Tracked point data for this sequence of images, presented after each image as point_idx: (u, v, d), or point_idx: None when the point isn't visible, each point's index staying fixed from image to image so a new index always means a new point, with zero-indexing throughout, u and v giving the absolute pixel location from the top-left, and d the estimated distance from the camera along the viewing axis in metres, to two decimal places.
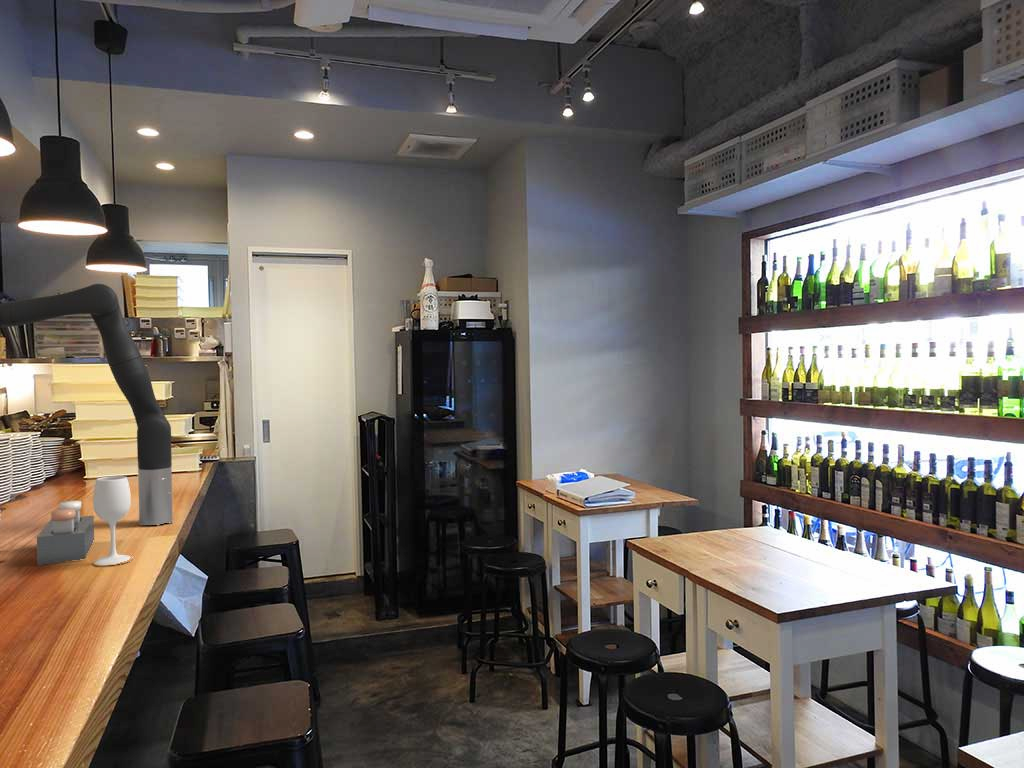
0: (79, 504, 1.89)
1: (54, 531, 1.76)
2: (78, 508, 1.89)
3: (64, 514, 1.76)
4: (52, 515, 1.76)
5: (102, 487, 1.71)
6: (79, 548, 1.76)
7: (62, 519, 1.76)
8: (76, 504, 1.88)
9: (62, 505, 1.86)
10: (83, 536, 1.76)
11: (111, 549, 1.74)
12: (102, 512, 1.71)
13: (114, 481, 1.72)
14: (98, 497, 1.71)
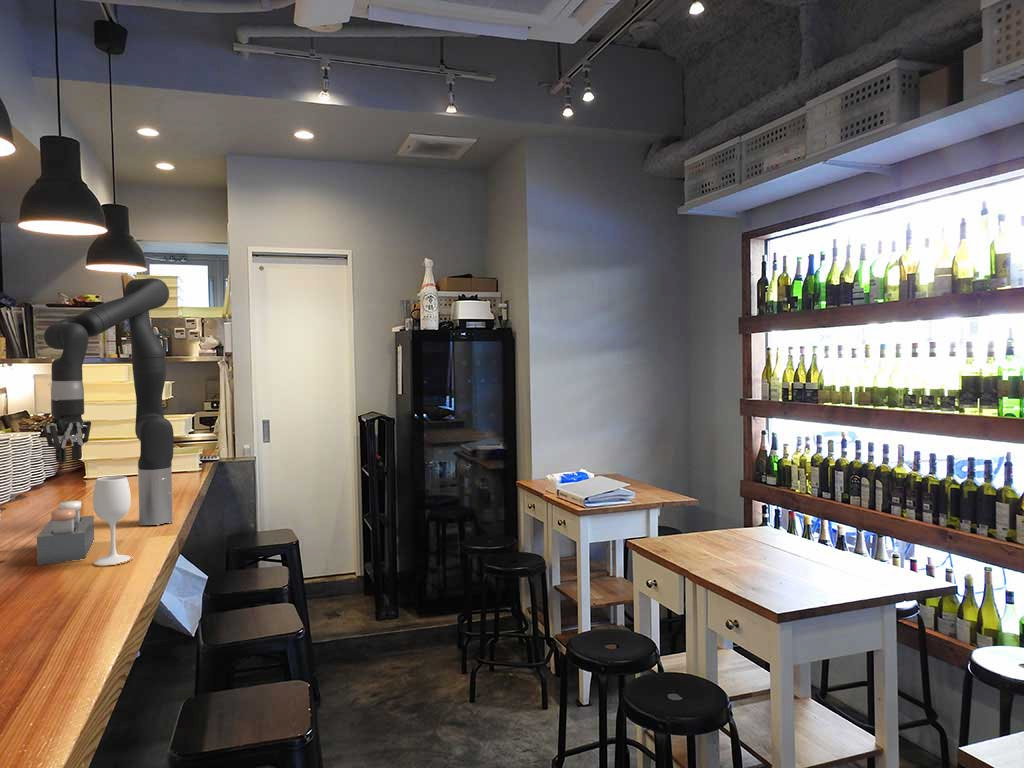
0: (79, 504, 1.89)
1: (54, 531, 1.76)
2: (78, 508, 1.89)
3: (64, 514, 1.76)
4: (52, 515, 1.76)
5: (102, 487, 1.71)
6: (79, 548, 1.76)
7: (62, 519, 1.76)
8: (76, 504, 1.88)
9: (62, 505, 1.86)
10: (83, 536, 1.76)
11: (111, 549, 1.74)
12: (102, 512, 1.71)
13: (114, 481, 1.72)
14: (98, 497, 1.71)
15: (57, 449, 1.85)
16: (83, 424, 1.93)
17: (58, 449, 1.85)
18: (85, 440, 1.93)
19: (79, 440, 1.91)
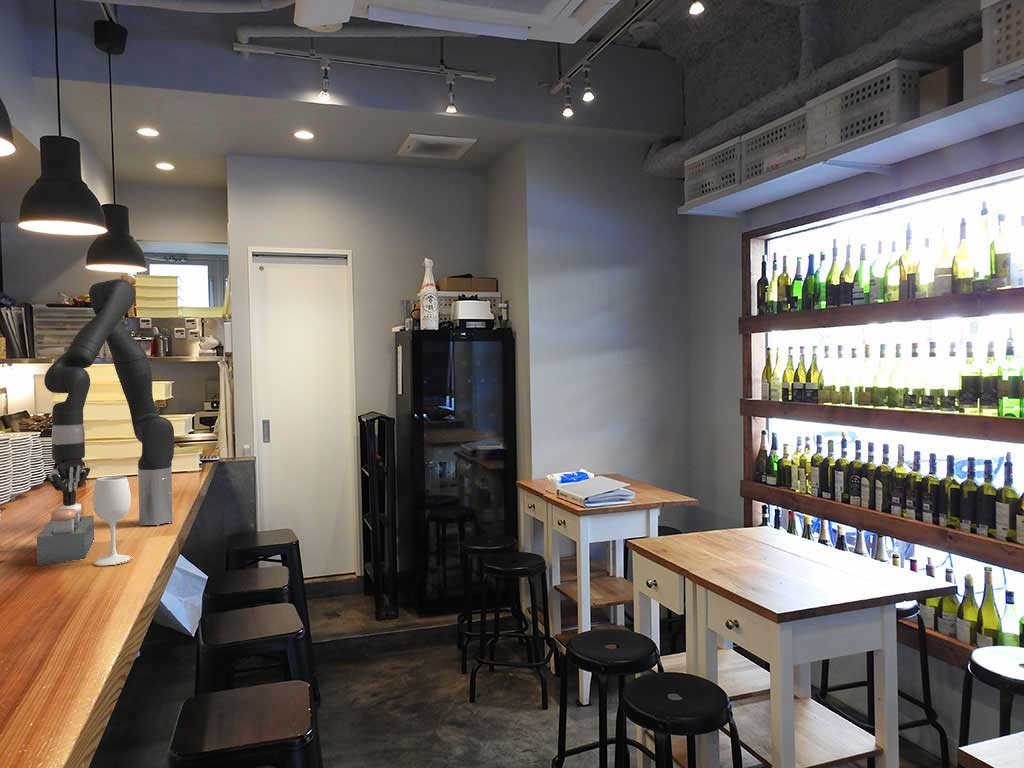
0: (79, 507, 1.89)
1: (54, 531, 1.76)
2: (78, 511, 1.89)
3: (64, 514, 1.76)
4: (52, 515, 1.76)
5: (102, 487, 1.71)
6: (79, 548, 1.76)
7: (62, 519, 1.76)
8: (76, 507, 1.88)
9: (62, 508, 1.86)
10: (83, 536, 1.76)
11: (111, 549, 1.74)
12: (102, 512, 1.71)
13: (114, 481, 1.72)
14: (98, 497, 1.71)
15: (64, 493, 1.87)
16: (82, 469, 1.93)
17: (65, 493, 1.87)
18: (79, 485, 1.91)
19: (73, 485, 1.89)
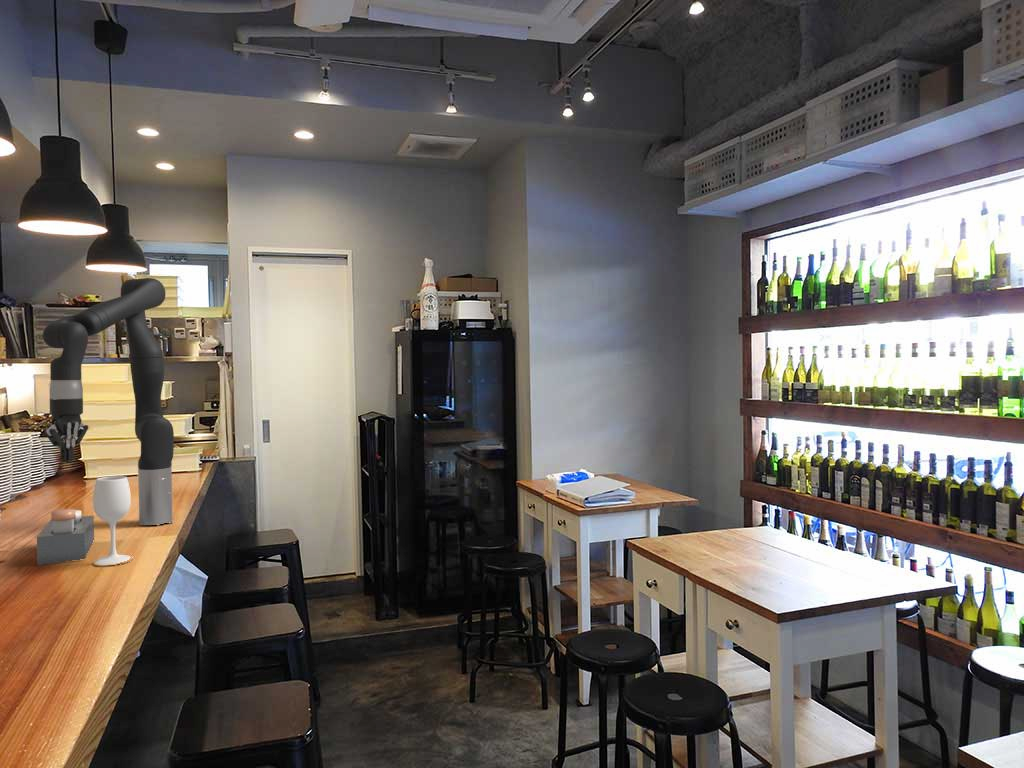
0: (79, 514, 1.89)
1: (54, 531, 1.76)
2: (78, 518, 1.89)
3: (64, 514, 1.76)
4: (52, 515, 1.76)
5: (102, 487, 1.71)
6: (79, 548, 1.76)
7: (62, 519, 1.76)
8: (76, 514, 1.88)
9: None
10: (83, 536, 1.76)
11: (111, 549, 1.74)
12: (102, 512, 1.71)
13: (114, 481, 1.72)
14: (98, 497, 1.71)
15: (62, 449, 1.86)
16: (80, 426, 1.91)
17: (63, 449, 1.86)
18: (77, 442, 1.89)
19: (71, 442, 1.87)
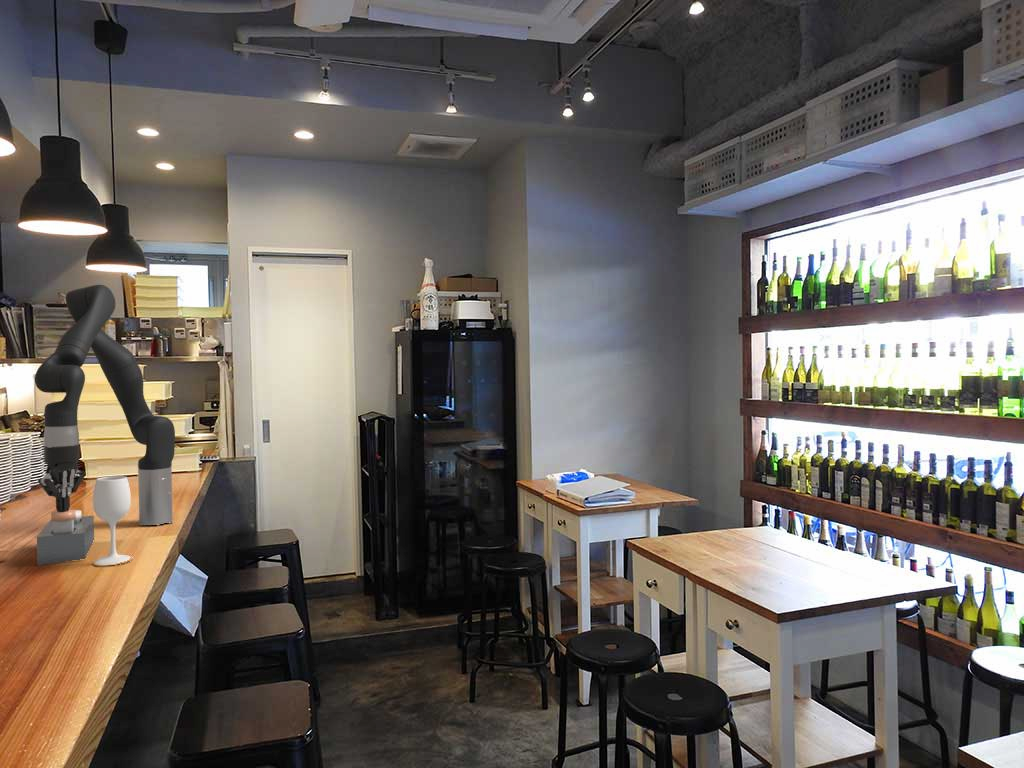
0: (79, 514, 1.89)
1: (54, 531, 1.76)
2: (78, 518, 1.89)
3: (64, 514, 1.76)
4: (52, 515, 1.76)
5: (102, 487, 1.71)
6: (79, 548, 1.76)
7: (62, 519, 1.76)
8: (76, 514, 1.88)
9: None
10: (83, 536, 1.76)
11: (111, 549, 1.74)
12: (102, 512, 1.71)
13: (114, 481, 1.72)
14: (98, 497, 1.71)
15: (57, 498, 1.77)
16: (76, 473, 1.82)
17: (59, 498, 1.77)
18: (73, 490, 1.80)
19: (67, 490, 1.78)
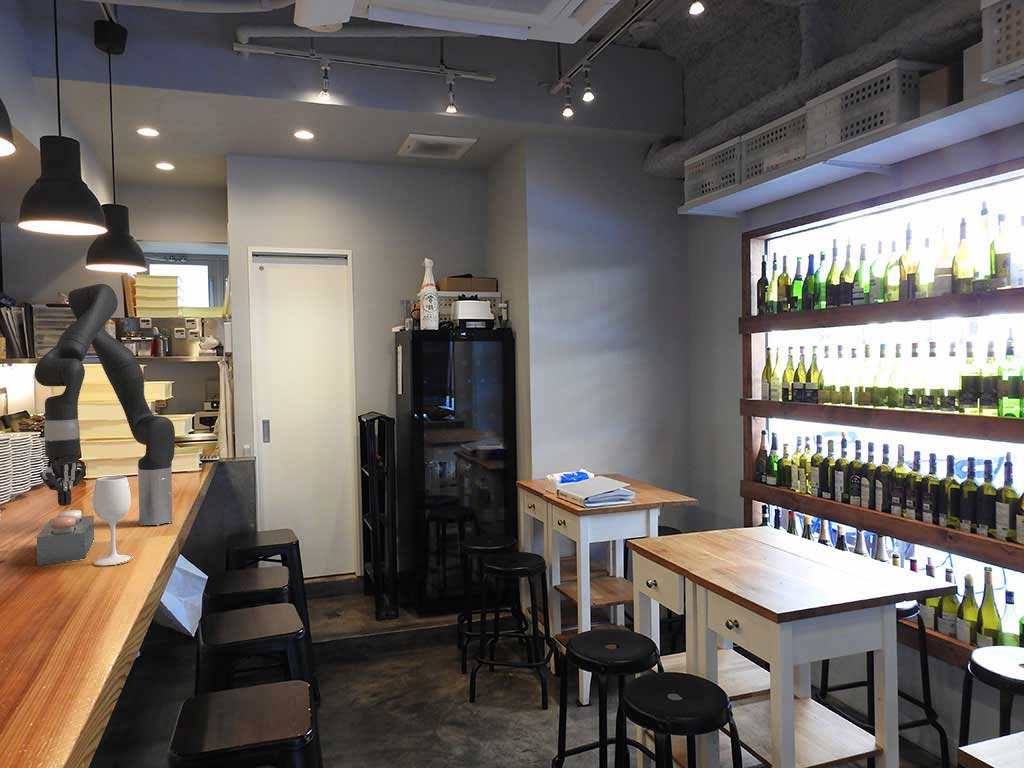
0: (79, 514, 1.89)
1: None
2: (78, 518, 1.89)
3: (64, 521, 1.76)
4: (52, 522, 1.76)
5: (102, 487, 1.71)
6: (79, 548, 1.76)
7: (62, 526, 1.76)
8: (76, 514, 1.88)
9: (62, 515, 1.86)
10: (83, 536, 1.76)
11: (111, 549, 1.74)
12: (102, 512, 1.71)
13: (114, 481, 1.72)
14: (98, 497, 1.71)
15: (59, 492, 1.77)
16: (78, 466, 1.82)
17: (60, 492, 1.77)
18: (75, 483, 1.80)
19: (68, 484, 1.78)
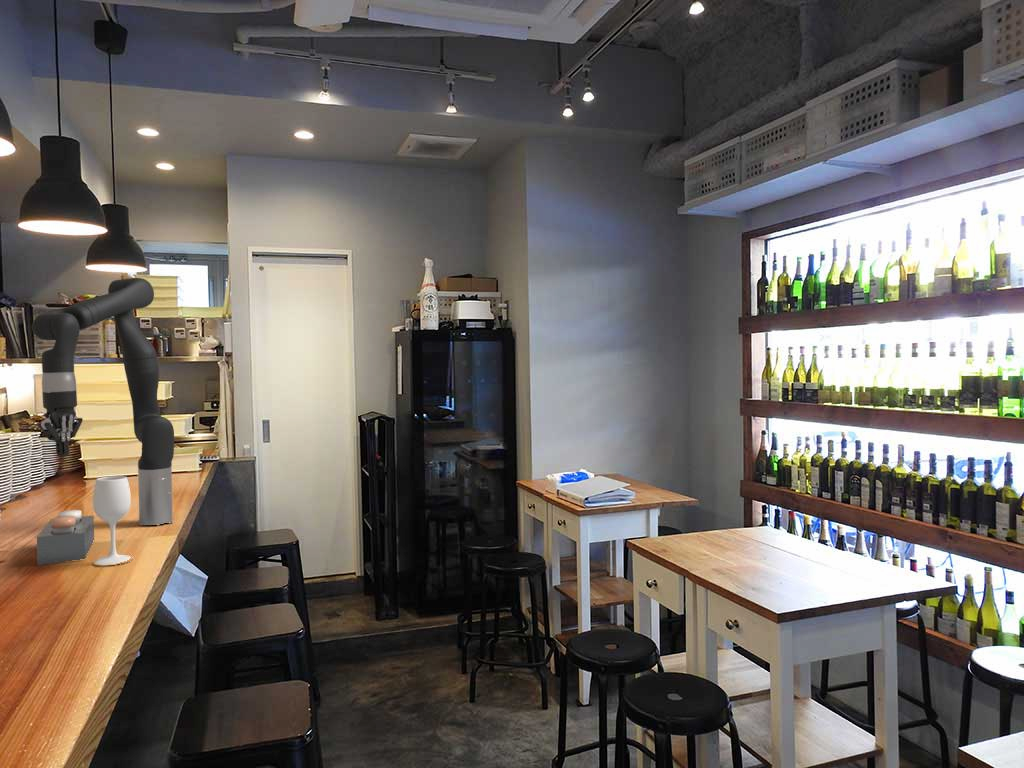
0: (79, 514, 1.89)
1: None
2: (78, 518, 1.89)
3: (64, 521, 1.76)
4: (52, 522, 1.76)
5: (102, 487, 1.71)
6: (79, 548, 1.76)
7: (62, 526, 1.76)
8: (76, 514, 1.88)
9: (62, 515, 1.86)
10: (83, 536, 1.76)
11: (111, 549, 1.74)
12: (102, 512, 1.71)
13: (114, 481, 1.72)
14: (98, 497, 1.71)
15: (57, 442, 1.82)
16: (74, 419, 1.88)
17: (58, 442, 1.82)
18: (72, 435, 1.86)
19: (66, 435, 1.84)
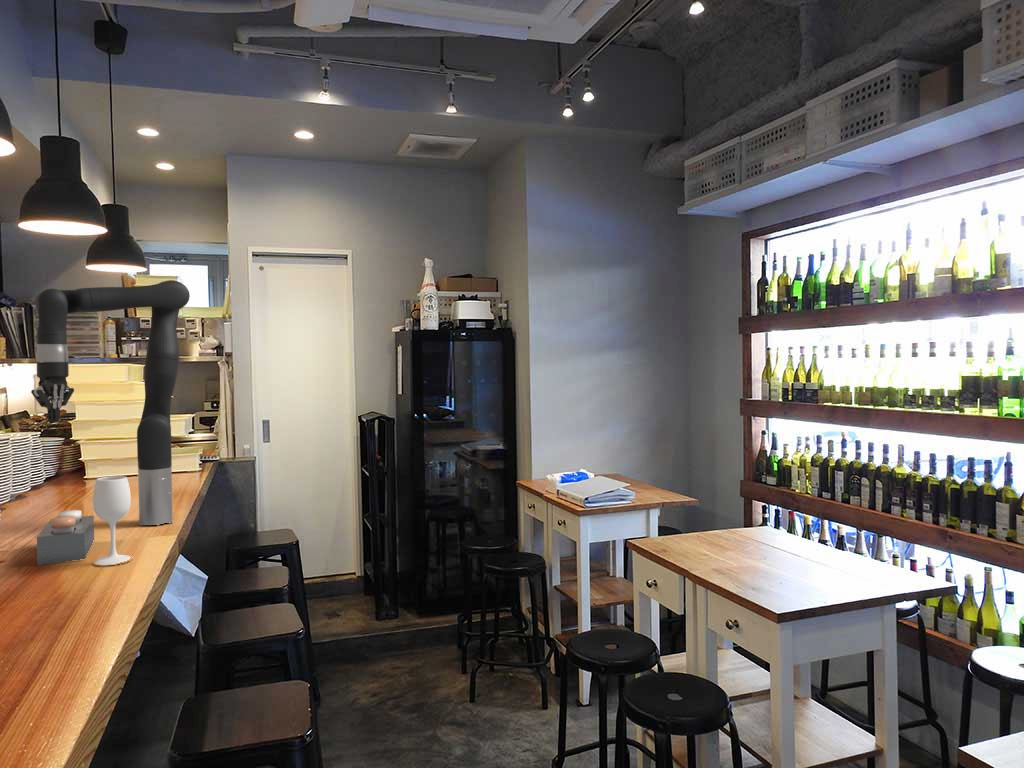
0: (79, 514, 1.89)
1: None
2: (78, 518, 1.89)
3: (64, 521, 1.76)
4: (52, 522, 1.76)
5: (102, 487, 1.71)
6: (79, 548, 1.76)
7: (62, 526, 1.76)
8: (76, 514, 1.88)
9: (62, 515, 1.86)
10: (83, 536, 1.76)
11: (111, 549, 1.74)
12: (102, 512, 1.71)
13: (114, 481, 1.72)
14: (98, 497, 1.71)
15: (49, 409, 1.96)
16: (66, 389, 2.02)
17: (50, 409, 1.96)
18: (63, 403, 2.00)
19: (57, 403, 1.98)
